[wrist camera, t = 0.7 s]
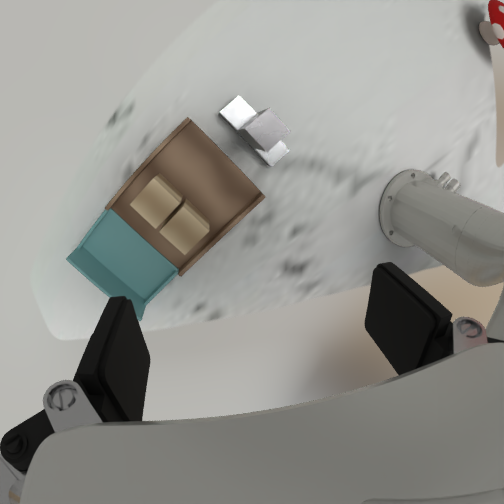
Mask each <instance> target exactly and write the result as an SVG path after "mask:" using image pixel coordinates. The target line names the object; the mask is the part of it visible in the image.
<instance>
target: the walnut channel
mask: <svg viewBox="0 0 504 504" xmlns="http://www.w3.org/2000/svg"><path fill="white" fill-rule="evenodd" d="M159 173H160V174H161V175H162V176H163V177H164V178H165V179H166V180H167V181H168V182H169V183H171V184H172V185H173V186H174V187H175V188H176V189H177V190H178V191H179V192H180V193H181V194H182V195H183V197H182V200H181V202H180V204H181V203H182V202H183V201H184V200H185V199H187V200H188V201H189V202H190V203H191V204H192V205H193V206H194V207H195V208H197V209H198V210H199V211H200V212H201V213H202V214H203V215H204V216H205V217H206V218H207V219H208V220H209V232H208V233H207V234H206V235H205V236H204V237H203V238H202V239H201V240H200V241H199V242H198V243H197V244H196V245H195V246H194V247H193V248H192V249H191V250H190V251H189V252H188V253H187V254H186V255H184V254H183V253H182V252H181V251H180V250H179V249H177V248H176V247H175V246H174V245H173V244H172V243H171V242H170V241H168V240H167V239H166V238H165V237H164V236H163V235H162V234H161V233H160V232H159V231H160V229H161V227H162V224H163V222H164V221H165V220H166V219H167V218H168V217H169V216H170V215H171V213H172V212H173V211H174V210H175V209H176V208H177V207H178V206H179V205H180V204H179V205H178V206H177V207H176V208H175V209H174V210H173V211H172V212H171V213H170V214H169V215H168V216H167V217H166V218H165V219H164V221H163V222H162V223H161V224H160V225H159V226H158V227H157V228H156V229H155V228H154V227H153V226H152V225H151V224H150V223H149V222H148V221H147V220H145V219H144V218H143V217H142V216H141V215H140V214H139V213H138V212H137V211H136V210H135V209H134V208H133V207H132V206H131V205H130V204H131V203H132V202H133V200H134V199H135V198H136V197H137V196H138V195H139V194H140V192H141V191H142V190H143V189H144V188H145V187H146V186H147V185H148V184H149V182H150V181H151V180H152V179H153V178H154V177H155V176H157V175H158V174H159ZM264 198H265V196H264V195H263V194H262V192H261V191H260V190H259V189H258V188H257V187H256V186H255V185H254V184H253V183H252V182H251V181H250V180H249V179H248V177H247V176H246V175H245V174H244V173H243V172H242V171H241V170H240V169H239V168H238V167H237V166H236V165H235V164H234V163H233V162H232V161H231V160H230V159H229V158H228V157H227V156H226V155H225V154H224V153H223V152H222V151H221V149H220V148H219V147H218V146H217V145H216V144H215V143H214V142H213V141H212V140H211V139H210V138H209V137H208V136H207V135H206V134H205V133H204V132H203V131H202V130H201V129H200V128H199V127H198V126H197V125H196V124H195V123H194V122H193V121H192V120H191V119H189V118H188V117H187V118H186V119H185V120H184V121H183V122H182V123H181V124H180V125H179V126H178V127H177V128H176V129H175V130H174V131H173V132H172V133H171V134H170V135H169V136H168V137H167V138H166V139H165V140H164V141H163V142H162V143H161V144H160V145H159V146H158V147H157V148H156V149H155V150H154V151H153V153H152V154H151V155H150V156H149V157H148V158H147V159H146V160H145V161H144V162H143V163H142V164H141V166H140V167H139V168H138V169H137V170H136V171H135V172H134V173H133V175H132V176H131V177H130V178H129V179H128V180H127V181H126V183H125V184H124V185H123V186H122V187H121V189H120V190H119V191H118V192H117V193H116V195H115V196H114V197H113V198H112V199H111V201H110V202H109V203H108V204H107V206H106V207H105V209H106V210H107V211H108V210H109V209H110V208H112V209H113V210H114V211H115V212H116V213H117V214H118V215H119V216H120V217H121V218H122V219H123V220H125V221H126V222H127V223H128V224H129V225H130V226H131V227H132V228H133V229H134V230H135V231H136V232H138V233H139V234H140V235H141V236H142V237H143V238H144V239H145V240H146V241H148V242H149V243H150V244H151V245H152V246H153V247H154V248H155V249H157V250H158V251H159V252H160V253H161V254H162V255H163V256H164V257H166V258H167V259H168V260H169V261H170V262H171V263H172V264H174V265H175V266H176V267H177V268H178V269H179V271H178V275H179V276H182V275H183V274H184V273H185V272H186V271H187V270H188V269H189V268H190V267H191V266H193V265H194V264H195V263H196V262H197V261H198V260H199V259H200V258H201V257H202V256H203V255H204V254H205V253H206V252H207V251H208V250H209V249H210V248H211V247H213V246H214V245H215V244H216V243H217V242H218V241H219V240H220V239H221V238H222V237H223V236H224V235H225V234H226V233H227V232H228V231H230V230H231V229H232V228H233V227H234V226H235V225H236V224H237V223H238V222H239V221H240V220H241V219H243V218H244V217H245V216H246V215H247V214H248V213H249V212H250V211H251V210H252V209H253V208H254V207H256V206H257V205H258V204H259V203H260V202H261V201H262V200H263V199H264Z"/></svg>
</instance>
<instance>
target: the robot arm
mask: <svg viewBox="0 0 504 504" xmlns="http://www.w3.org/2000/svg"><path fill="white" fill-rule="evenodd" d="M449 179H450V175H449V174H448V173H447V172H444V173H443V175H442V176H441V177H440V178H439V179H438V180H433V178H432V177H431V176H430V175H428V174H427V173H425V172H422V171H419V170H414V169H413V170H407V171H404V172H401V173H400V174H398V175H397V176H396V177H395V178H394V179H393V180H392V181H391V182H390V183H389V185H388V186H387V188H386V190H385V192H384V194H383V197H382V200H381V204H380V223H381V227H382V230H383V232H384V233H385V235H386V236H387V238H388V239H389V240H390V241H392V242H393V243H395V244H396V245H398V246H402V247H411V246H417V247H418V248H420V249H421V250H423V251H424V252H426V253H427V254H429V255H430V256H432V257H433V258H435V259H436V260H438V261H439V262H440V263H442V264H443V265H445V266H446V267H447V268H449V269H450V270H452V271H453V272H454V273H456V274H457V275H459V276H460V277H461V278H463V279H464V280H465V281H467V282H468V283H470V284H472V285H475V286H479V287H486V286H492V285H496V284H498V283H501V282H504V213H502V212H500V211H498V210H495V209H493V208H491V207H489V206H486V205H484V204H481V203H479V202H477V201H474V200H472V199H469V198H467V197H464V196H462V195H459V194H456V192H457V191H458V189H459V188H460V183H459V182H458V181H457V180H456V179H452V180H451V181H450V182H449V184H448V185H447V187H446V188H445V189H444V188H443V185H444V184H445V183H447V182H448V181H449ZM451 317H452V313H451V312H450V311H449V310H447V309H446V308H445V307H444V306H443V305H442V304H441V303H440V302H439V301H437V300H436V299H435V298H434V297H433V296H432V295H430V294H429V293H428V292H427V291H426V290H425V289H423V288H422V287H421V286H420V285H419V284H418V283H416V282H415V281H414V280H413V279H412V278H410V277H409V276H408V275H407V274H406V273H404V272H403V271H402V270H401V269H400V268H398V267H397V266H396V265H395V264H393V263H392V262H388V263H382V264H378V265H377V267H376V268H375V269H374V270H373V276H372V283H371V289H370V295H369V301H368V307H367V312H366V318H365V328H366V331H367V332H368V333H369V335H370V336H371V337H372V339H373V340H374V341H375V343H376V344H377V346H378V347H379V348H380V350H381V351H382V352H383V354H384V355H385V357H386V358H387V359H388V361H389V362H390V364H391V365H392V366H393V368H394V369H395V371H396V372H397V373H398V375H399V376H396V377H393V378H390V379H387V380H384V381H382V382H378V383H375V384H372V385H369V386H366V387H362V388H359V389H355V390H352V391H349V392H345V393H341V394H338V395H334V396H330V397H326V398H322V399H318V400H313V401H309V402H305V403H300V404H296V405H290V406H285V407H281V408H275V409H269V410H263V411H257V412H251V413H243V414H236V415H228V416H219V417H209V418H197V419H183V420H166V421H142V416H143V408H144V401H145V392H146V386H147V380H148V373H149V367H150V355H149V351H148V349H147V346H146V343H145V340H144V337H143V334H142V331H141V328H140V325H139V322H138V319H137V316H136V313H135V310H134V306H133V303H132V301H131V299H127V298H126V296H116V297H110V298H109V300H108V303H107V305H106V307H105V309H104V311H103V313H102V315H101V317H100V320H99V322H98V324H97V326H96V328H95V331H94V333H93V334H92V336H91V338H90V340H89V342H88V345H87V347H86V349H85V352H84V354H83V356H82V359H81V361H80V364H79V366H78V369H77V372H76V374H75V376H74V379H73V381H71V380H63V381H59V382H57V383H55V384H53V385H52V386H50V387H49V388H48V390H47V391H46V393H45V394H44V397H43V405H44V408H45V409H44V410H42V411H41V412H39V413H37V414H36V415H34V416H33V417H31V418H29V419H27V420H26V421H24V422H22V423H21V424H19V425H18V426H16V427H14V428H13V429H11V430H10V431H8V432H7V433H6V434H5V435H4V436H3V438H2V441H1V443H0V451H1V454H0V504H504V287H503V291H502V293H501V296H500V300H499V302H498V304H497V306H496V308H495V311H494V313H493V315H492V317H491V319H490V321H489V323H488V325H487V327H486V329H485V328H484V326H483V325H482V324H481V323H480V322H478V321H477V320H475V319H473V318H470V317H460V318H457V319H456V320H455V321H454V322H453V323H452V322H451V321H450V320H451Z"/></svg>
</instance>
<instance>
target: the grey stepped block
mask: <svg viewBox="0 0 504 504" xmlns="http://www.w3.org/2000/svg"><path fill="white" fill-rule="evenodd" d="M219 114H220V115H221V116H222V117H223V118H224V119H225V120H226V121H227V122H228V123H229V124H230V125H231V126H232V127H233V128H234V129H235V130H236V131H237V132H238V133H239V134H240V136H241V137H242V138H243V139H244V140H245V141H246V142H247V143H248V144H249V145H250V146H251V147H252V148H253V149H254V150H255V151H256V153H257V154H258V155H259V156H260V157H261V158H262V159H263V160H264V161H265V162H266V163H267V165H269V166H271V167H272V166H273V165H274V164H275V163H276V162H278V161H279V160H280V159H281V158H282V157H283V156H284V155H285V154H287V153H288V152H289V151H290V150H289V149H288V148H287V147H286V145H285V144H284V143H283V142H282V141H281V140H282V139H283V138H284V137H285V136H286V135H287V134H289V133H290V132H291V131H290V130H289V129H288V128H287V127H286V126H285V124H284V123H283V122H282V121H281V120H280V119H279V118H278V117H277V115H276V114H275V113H274V112H273V111H272V110H271V109H270V108H268V109H265V110H263V111H261V112H259V113H256V112H255V111H254V110H253V109H252V108H251V107H250V106H249V105H248V104H247V103H246V102H245V101H244V100H243V99H242V98H241V97H240V96H238V97H236V98H235V99H234V100H233V101H232V102H230V103H229V104H228V105H227V106H226V107H225V108H224V109H222V110H221V111H220V112H219Z"/></svg>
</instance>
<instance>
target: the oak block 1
mask: <svg viewBox="0 0 504 504" xmlns="http://www.w3.org/2000/svg"><path fill="white" fill-rule="evenodd" d="M182 197H183V195H182V194H181V193H180V192H179V191H178V190H177V189H176V188H175V187H174V186H173V185H172V184H171V183H169V182H168V181H167V180H166V179H165V178H164V177H163V176H162V175H161V174H160V173H159V174H158V175H157V176H155V177H154V178H153V179H152V180H151V181H150V182H149V184H148V185H147V186H146V187H145V188H144V189H143V190H142V191H141V192H140V194H139V195H138V196H137V197H136V198H135V199H134V200H133V202H132V203H131V204H130V205H131V206H132V207H133V208H134V209H135V210H136V211H137V212H138V213H139V214H140V215H141V216H142V217H143V218H144V219H145V220H147V221H148V222H149V223H150V224H151V225H152V226H153V227H154V228H155V229H156V228H157V227H158V226H159V225H160V224H161V223H162V222H163V221H164V219H165V218H166V217H167V216H168V215H169V214H170V213H171V212H172V211H173V210H174V209H175V208H176V207H177V206H178V205H179V204H180V202H181V200H182Z"/></svg>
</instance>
